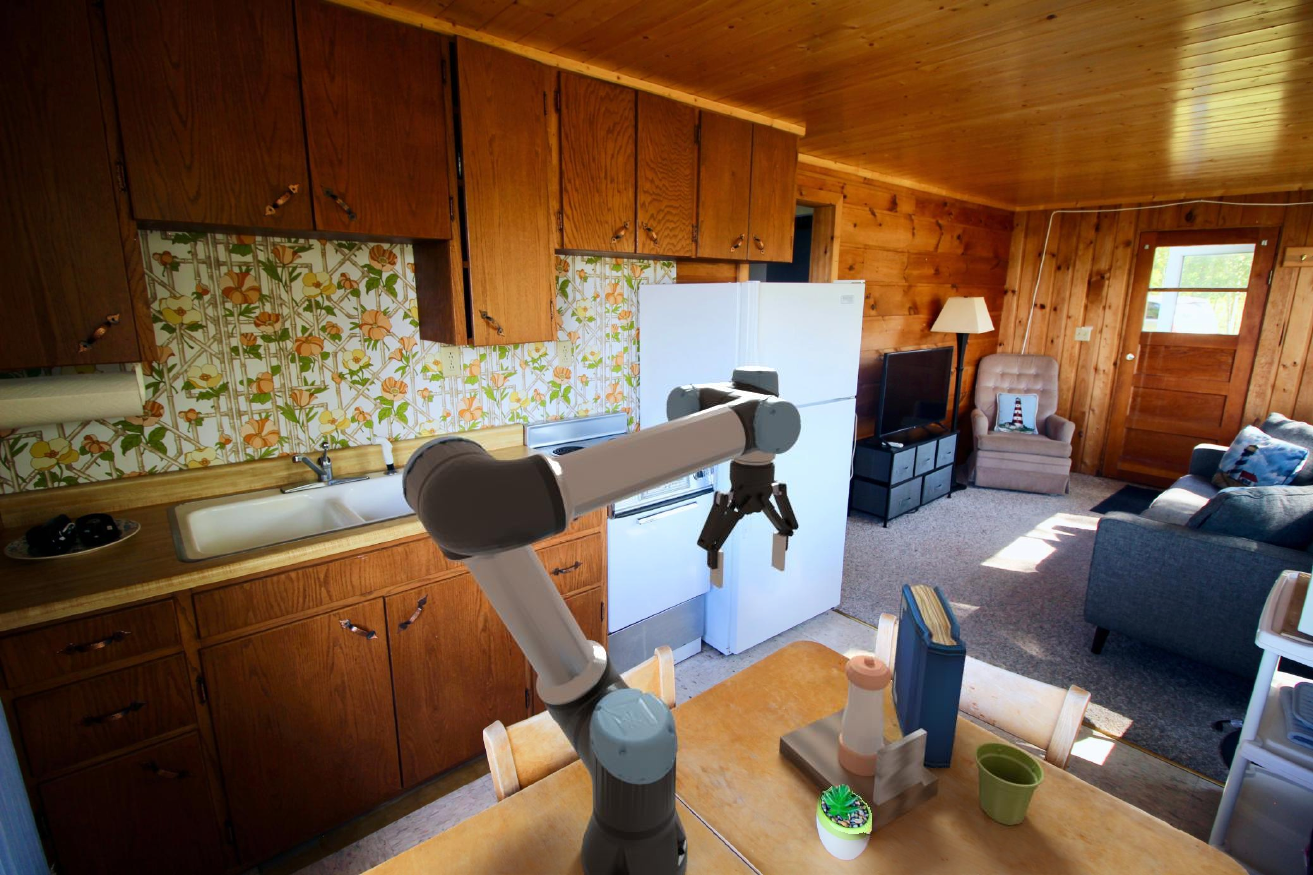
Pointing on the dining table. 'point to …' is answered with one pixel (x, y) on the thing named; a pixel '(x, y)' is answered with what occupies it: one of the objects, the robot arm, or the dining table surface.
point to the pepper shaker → (863, 715)
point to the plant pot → (1006, 781)
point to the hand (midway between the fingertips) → (748, 576)
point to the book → (928, 671)
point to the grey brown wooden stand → (885, 792)
